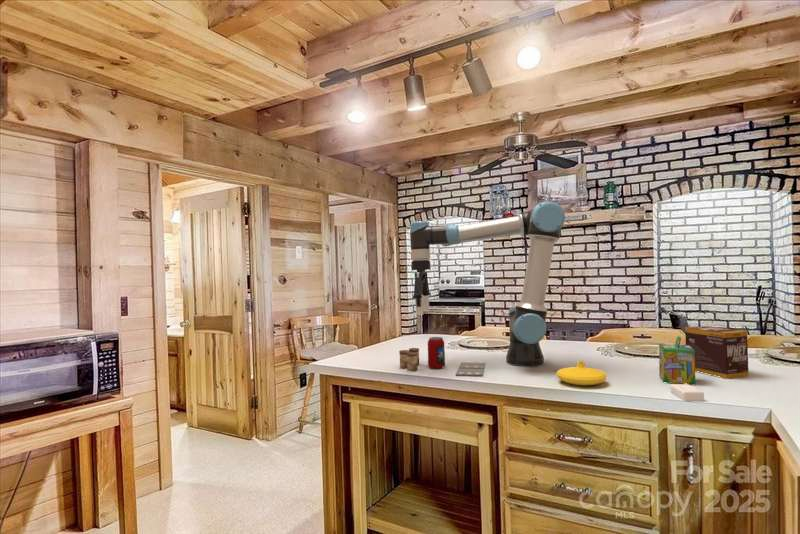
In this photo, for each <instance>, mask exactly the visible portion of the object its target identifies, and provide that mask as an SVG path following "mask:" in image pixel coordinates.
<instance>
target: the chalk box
mask: <svg viewBox="0 0 800 534" xmlns="http://www.w3.org/2000/svg"><path fill="white" fill-rule="evenodd" d="M681 341H682V337H681V336H680V335H678V336H677V337H676V340H675V343H674V344H673V343H672V344H669V343H658V354H659V355H658V357H659V358H658V360H659V363H658V365H659V367H658V368H659V369H658V370H659V374H658V375H659V377H660V379H661V380H662V382H663V381H664V382H671V383H670V384H678V383H687V384H688V385H692V384H697V383H696V372H695V351H694V349H693V348H692V347H691V346H689V345H686V344H681ZM664 382H663V383H664Z"/></svg>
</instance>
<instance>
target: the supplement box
mask: <svg viewBox="0 0 800 534" xmlns="http://www.w3.org/2000/svg"><path fill="white" fill-rule="evenodd" d="M684 334H685V345H689V346H691V347H692V348H693V349H694V351H695V371H699V372H703V373H707V374H711V375H710V376H712V375H716V376H720V377H723V378H722V379H724V378H729V379H735V378H734V377H737V378H744V376H745V377H749V376H750V374H749V373H750V371H749V352H748V351H749V350H748V330H741V329H736V328H735V329H734V328H726V327H716V326H709V325H703V326H691V327H685V330H684ZM699 372H698V373H699ZM703 373H702V374H703ZM707 374H706V375H707ZM716 376H715V377H716ZM720 377H719V378H720Z"/></svg>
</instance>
